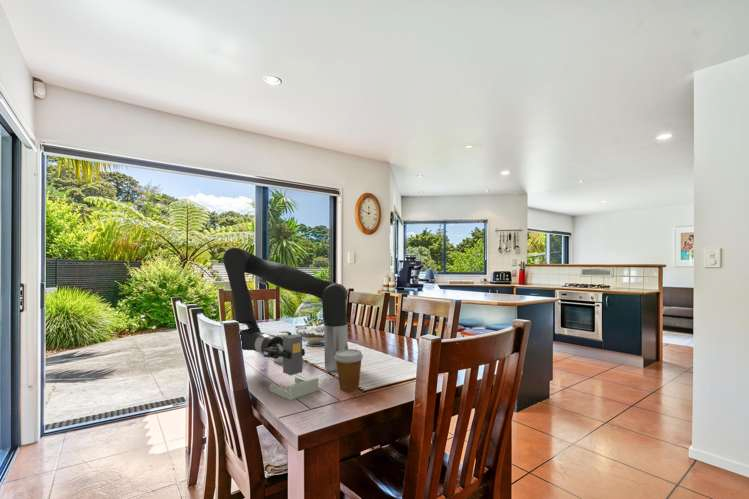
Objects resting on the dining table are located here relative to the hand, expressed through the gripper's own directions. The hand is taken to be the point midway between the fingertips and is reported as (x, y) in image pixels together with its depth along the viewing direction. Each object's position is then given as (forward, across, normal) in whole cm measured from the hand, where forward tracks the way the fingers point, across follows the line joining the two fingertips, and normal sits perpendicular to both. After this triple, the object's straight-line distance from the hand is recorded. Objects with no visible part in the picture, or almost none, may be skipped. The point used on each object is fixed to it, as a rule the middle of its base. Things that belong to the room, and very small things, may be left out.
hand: (297, 354), depth 122 cm
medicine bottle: (-35, +18, +13) cm, 42 cm away
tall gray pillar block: (-3, 0, +6) cm, 7 cm away
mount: (-2, 0, +13) cm, 13 cm away
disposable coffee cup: (+10, +14, +12) cm, 21 cm away
